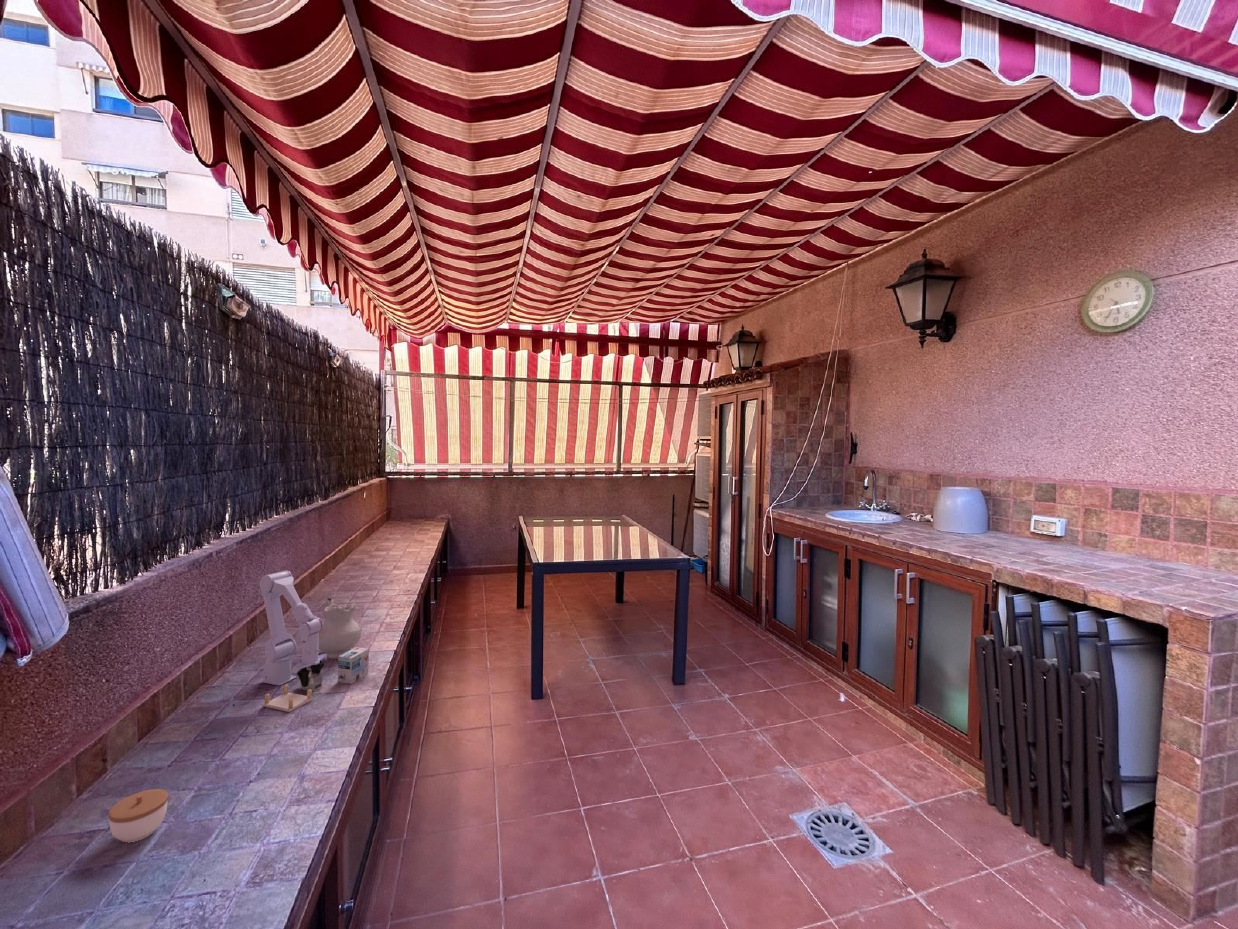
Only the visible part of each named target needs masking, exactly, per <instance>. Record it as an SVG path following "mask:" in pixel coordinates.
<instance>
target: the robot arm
mask: <svg viewBox="0 0 1238 929" xmlns="http://www.w3.org/2000/svg"><path fill="white" fill-rule="evenodd" d="M294 581H295V578H294V577H293V574H292V573H291V571H289V570H283V571H278V572H274V573H269V574H264V575H262V577H261V579H260V580H259V587H260V592H261V596H262V597H263V603H264V607H265V608H264V609H265V613H266V618H267V623H268V628H269V632H270V638H268V640H267V641H266V643H265V644H264V646H265V649H264V650H265V651H264V656H265V658H266V661H265V662H264V665H263V680H261V682H262V683H265V684H269V685H274V686H282V685H283V684H284V685H285V684H286V683H288V682H290V681H292V680H294V679H297V676H296V675H298V677H299V679H300V681H301V685H302V686H303V687H307V685H308V677H309V673H310V672H313V673H319V674H321V671H322V669H323V668H324V666H325V662H324V661H326V660H327V659H328V657H327V654H324V653H322V654H319V650H320V649H319V631H321V630H322V626H323V622H322V619H321V618H320V617H317V616H316V615H314V614H313V613H312V611H311V610H310V608H309V606H308V605H307V603H303V602H302V601H301V599H300V596H299V594H298V592H297V591H296V588H295V586H294ZM280 595H282V596H283V597H284V598H285V600H286V601H287V602H288V604H289V605H290V607H291V608H292V609H291V612H290V613H291V615H292V616H293V618H294V619H295V621H296V623H297V624H298V625H299V627H298V628H297V629H298V630H297V631H298V633H299V636H300V640H301V661H300V662H299V663H296V665H295V666H293V667H292V658H293V657H294V654H295V653H296V652H297V648H298V645H297V643H296V641H295V638H294V635H292V634H290V633H288V632H287V629H286V625H285V619H284V614H283V613H284V612H283V608H282V604H281V603H282V602H281V598H280ZM309 667H310V669H308V668H309ZM292 674H296V675H292Z"/></svg>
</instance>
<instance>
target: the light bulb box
mask: <svg viewBox="0 0 1238 929" xmlns="http://www.w3.org/2000/svg"><path fill="white" fill-rule="evenodd" d="M350 649H351V650H350V651H348V652H346V653H344V654H342V655H340V656H338V659H337V660H338V662H337V663H338V664H337V682H338V683H343V684H351V685H352V684H353V683H355V682H357V681H358V680H360V679H362V678H363V677H365V676H367V675H369V663H370V662H369V661H370V660H369V659H370V656H369V655H370V649H369V648H366V647H359V646H358V647H357V646H354V647H353V648H350Z"/></svg>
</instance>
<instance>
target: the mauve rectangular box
mask: <svg viewBox="0 0 1238 929" xmlns="http://www.w3.org/2000/svg"><path fill="white" fill-rule="evenodd" d="M296 675H297V674H296ZM322 687H323V673H320V674H319V673H313V672H311V671H310V673H309V677H308V685H307V687H303V686H302V685H301V681H300V679H299V677H298V675H297V676H296V689H298V690H303V691H307V690H309V689H311V690H312V693H313V692H315V691H317V690H319V689H322Z"/></svg>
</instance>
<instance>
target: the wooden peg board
mask: <svg viewBox="0 0 1238 929" xmlns="http://www.w3.org/2000/svg"><path fill="white" fill-rule="evenodd" d="M312 693H313V692H312V690H311V689H309V690H306V695H305V694H304V695H303V694H298V693H294V692H289V684H284V686H283V694H281V695H279V696H277V697H274V698H272V699H270V695H271V694H270V693H267V694H265V695H264V703H263V706H264V708H265V707H266V708H270V709H275V710H279V711H283V712H287V713H288V712H289V713H291V712H292V711H294V710H296V709H298V708H300V707H301V706H303V705H305V704H307V703H309V702H311V701H312V700H313V695H312Z"/></svg>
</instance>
